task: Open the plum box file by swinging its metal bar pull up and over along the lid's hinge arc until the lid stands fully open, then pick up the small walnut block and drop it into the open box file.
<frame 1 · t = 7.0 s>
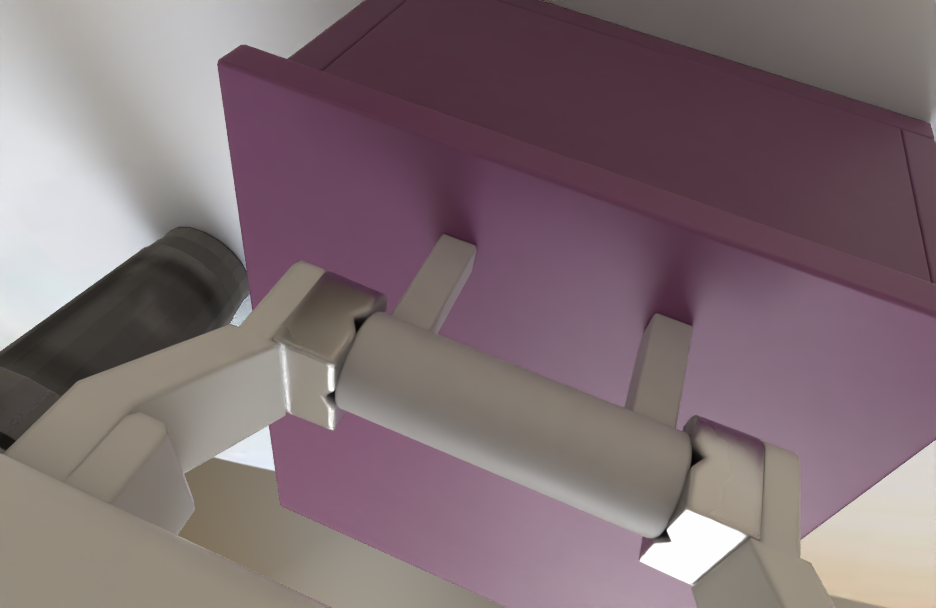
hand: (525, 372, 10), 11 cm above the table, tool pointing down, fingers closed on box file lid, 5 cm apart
box file: (571, 266, 23), on the table
box file lid: (473, 516, 15), point 10 cm above the table, hinge at 0.0°, touching gripper
beverage cup: (210, 263, 31), on the table
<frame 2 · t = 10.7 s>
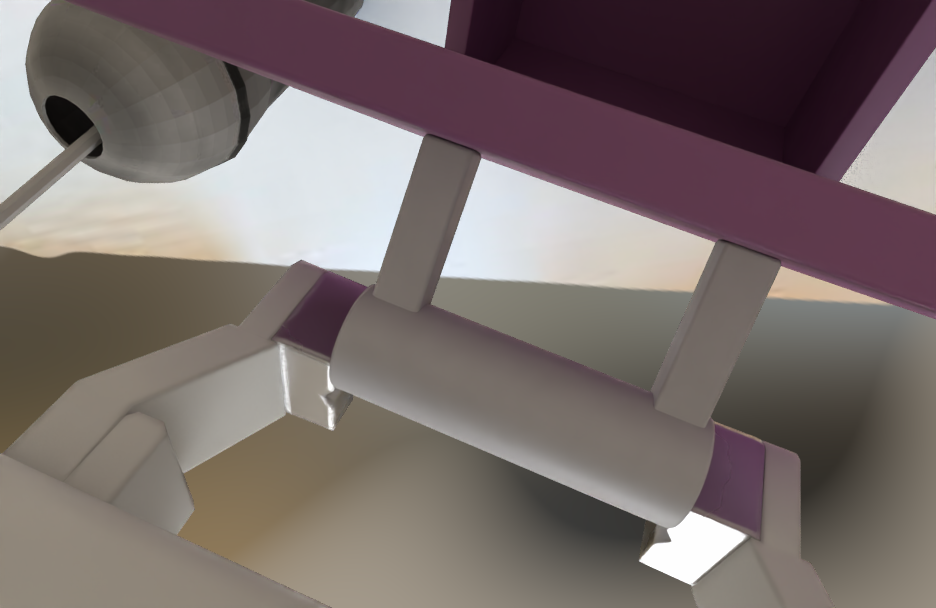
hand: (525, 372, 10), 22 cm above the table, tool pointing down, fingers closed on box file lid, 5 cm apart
box file lid: (574, 259, 15), point 16 cm above the table, hinge at 54.9°, touching gripper
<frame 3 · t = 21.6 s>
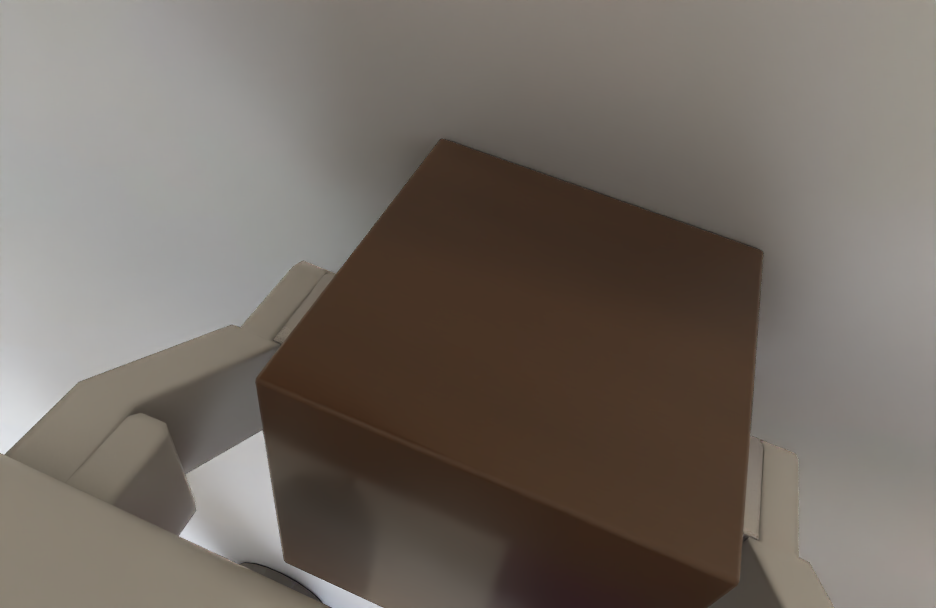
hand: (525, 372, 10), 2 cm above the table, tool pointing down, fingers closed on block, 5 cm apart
block: (554, 303, 11), on the table, touching gripper
beverage cup: (283, 585, 30), on the table
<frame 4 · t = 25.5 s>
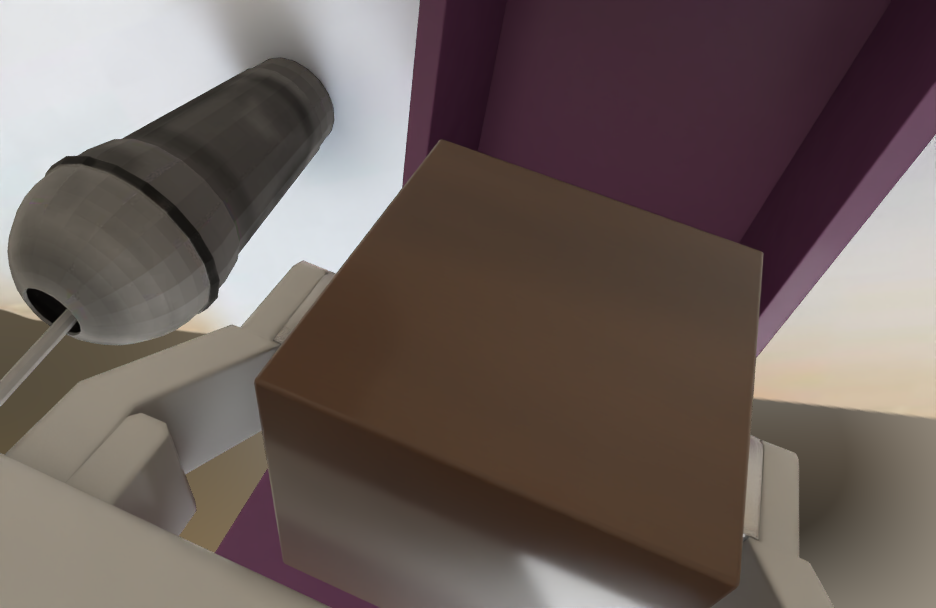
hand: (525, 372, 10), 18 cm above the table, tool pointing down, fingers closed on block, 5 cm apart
box file: (662, 48, 24), on the table
box file lid: (462, 575, 21), point 17 cm above the table, hinge at 94.8°
block: (554, 304, 11), point 17 cm above the table, touching gripper
beverage cup: (295, 101, 32), on the table
when the fingers open (4 cm above the table, at t = 30.5 s): block stays where it is, resting on box file.
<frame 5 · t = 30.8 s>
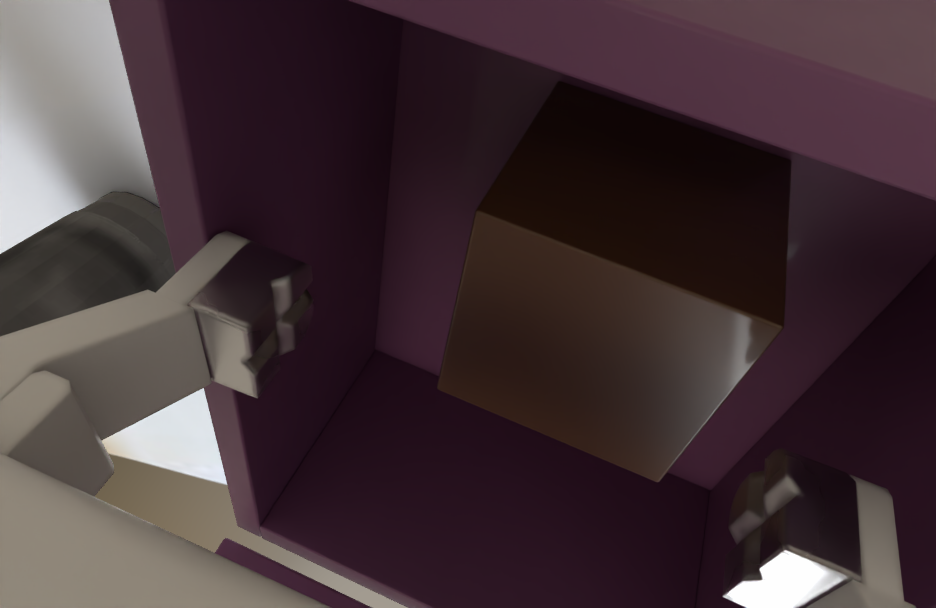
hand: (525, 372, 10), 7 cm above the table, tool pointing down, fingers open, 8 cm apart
box file: (614, 237, 17), on the table
block: (630, 212, 15), point 1 cm above the table, touching box file
beverage cup: (154, 239, 25), on the table
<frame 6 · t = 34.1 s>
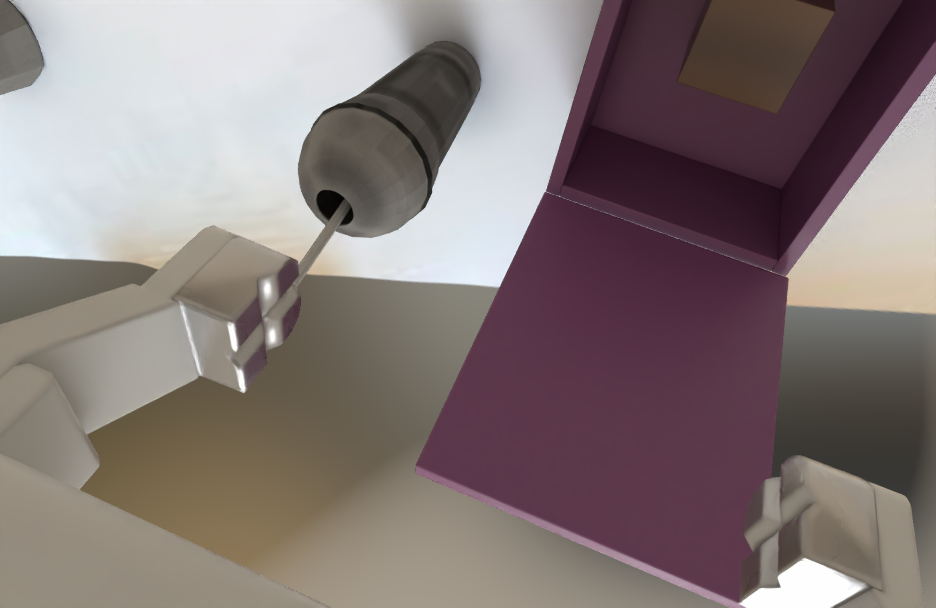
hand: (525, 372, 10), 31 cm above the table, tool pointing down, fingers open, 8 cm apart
box file: (742, 31, 34), on the table
box file lid: (614, 383, 31), point 17 cm above the table, hinge at 94.8°
block: (756, 10, 33), point 1 cm above the table, touching box file
coffeepot: (6, 28, 54), on the table
beverage cup: (449, 74, 42), on the table
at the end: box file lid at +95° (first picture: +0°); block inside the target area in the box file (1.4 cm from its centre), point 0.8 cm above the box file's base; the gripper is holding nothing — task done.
